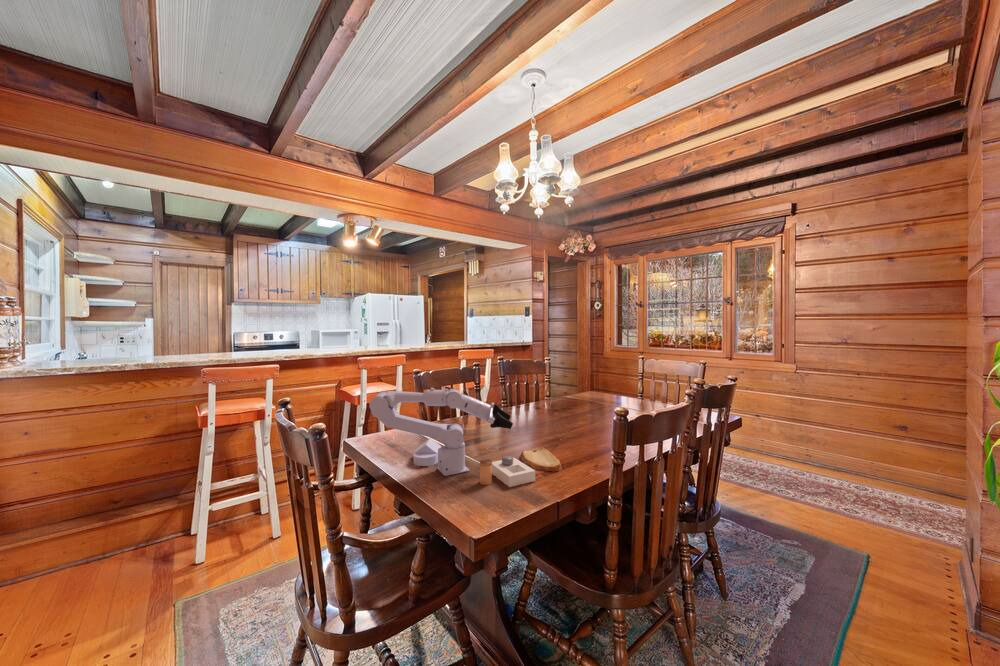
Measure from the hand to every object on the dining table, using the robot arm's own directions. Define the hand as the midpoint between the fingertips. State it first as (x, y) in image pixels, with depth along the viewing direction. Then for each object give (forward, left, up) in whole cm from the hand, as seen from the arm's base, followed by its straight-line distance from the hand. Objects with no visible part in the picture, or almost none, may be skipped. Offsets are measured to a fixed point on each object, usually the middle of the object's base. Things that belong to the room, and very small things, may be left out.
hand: (510, 422), depth 141 cm
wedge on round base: (-25, +22, -17) cm, 37 cm away
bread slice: (+13, 0, -17) cm, 22 cm away
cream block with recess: (-4, -7, -17) cm, 19 cm away
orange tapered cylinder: (-14, -7, -17) cm, 23 cm away
